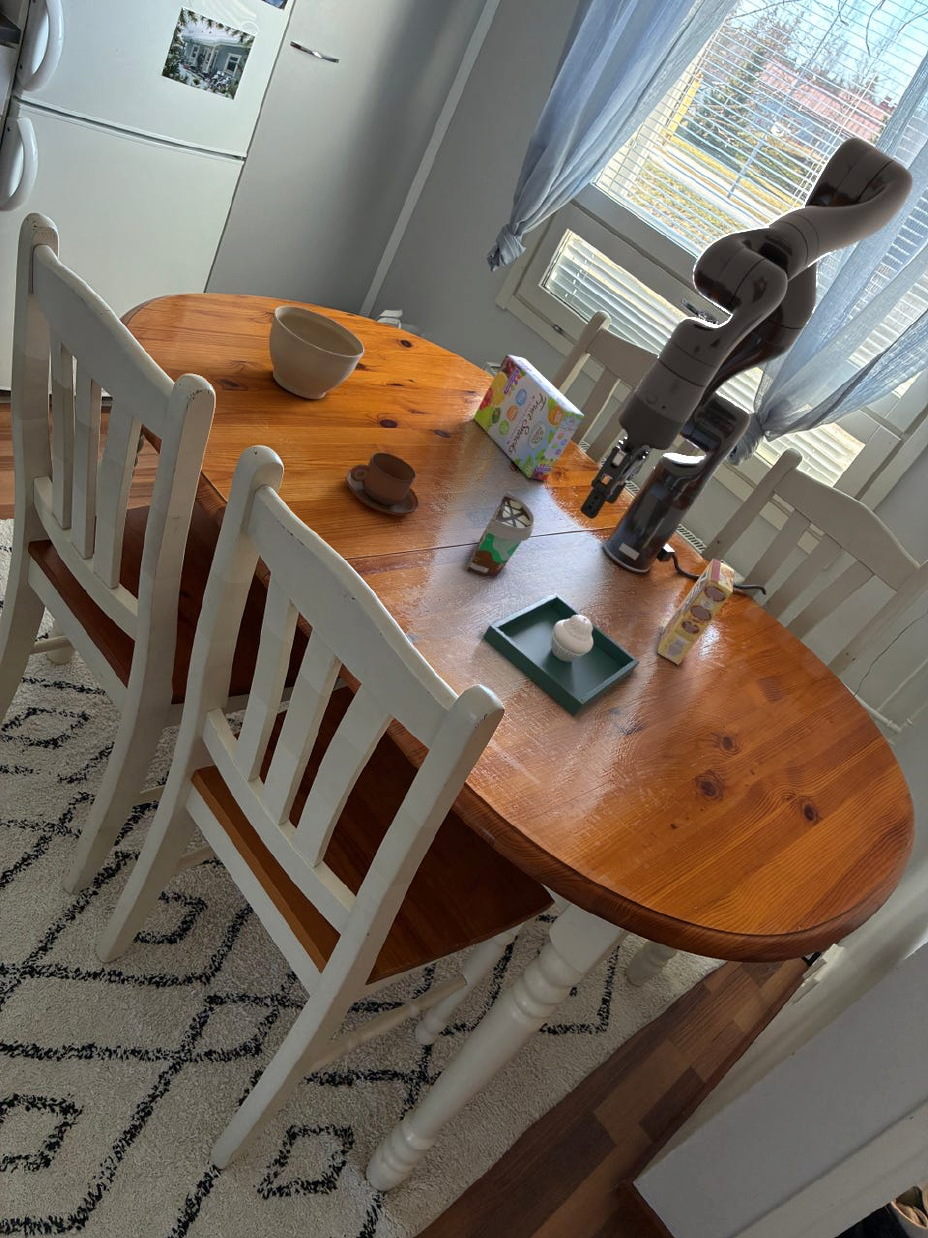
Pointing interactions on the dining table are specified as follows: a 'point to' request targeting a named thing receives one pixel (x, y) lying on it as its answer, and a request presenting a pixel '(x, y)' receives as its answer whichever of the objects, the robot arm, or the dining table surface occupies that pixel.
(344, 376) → the planter bowl
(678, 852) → the dining table surface
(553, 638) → the muffin
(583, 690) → the tray
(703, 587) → the candy box
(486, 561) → the food container
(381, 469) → the cup and saucer
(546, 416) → the snack box
